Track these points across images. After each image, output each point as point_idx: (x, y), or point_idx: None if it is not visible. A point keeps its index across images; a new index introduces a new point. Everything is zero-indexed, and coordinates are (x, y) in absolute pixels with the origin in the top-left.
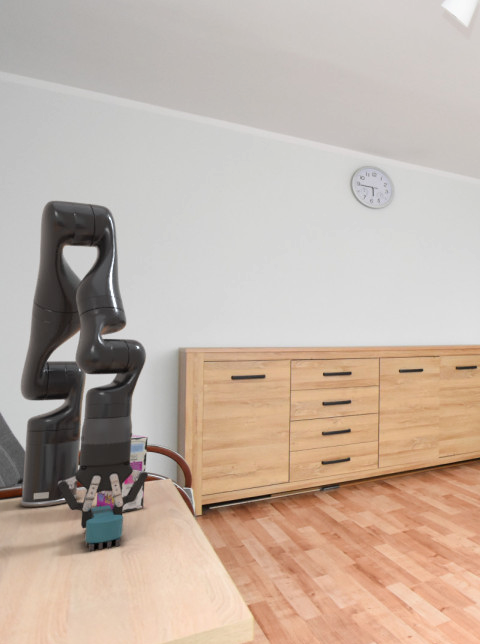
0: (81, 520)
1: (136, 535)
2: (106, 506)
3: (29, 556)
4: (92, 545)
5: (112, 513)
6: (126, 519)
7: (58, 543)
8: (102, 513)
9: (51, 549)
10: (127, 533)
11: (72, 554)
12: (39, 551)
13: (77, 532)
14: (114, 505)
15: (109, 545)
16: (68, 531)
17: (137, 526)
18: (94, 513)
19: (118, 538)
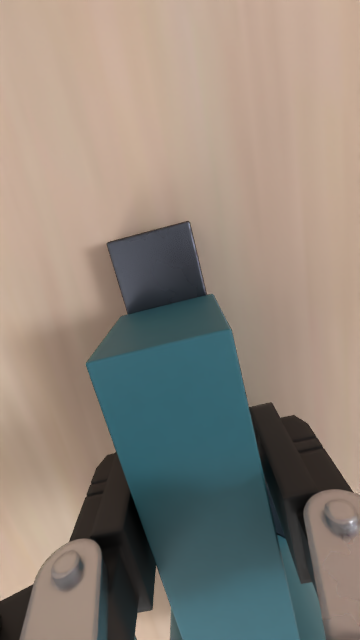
0: (90, 492)
1: (351, 475)
2: (210, 376)
3: (6, 576)
4: None
5: (292, 627)
6: (280, 57)
7: (44, 450)
8: (224, 599)
9: (51, 525)
10: (311, 423)
11: (152, 614)
12: (14, 531)
13: (62, 280)
14: (301, 535)
15: None
16: (3, 229)
17: (352, 302)
18: (168, 577)
19: None
